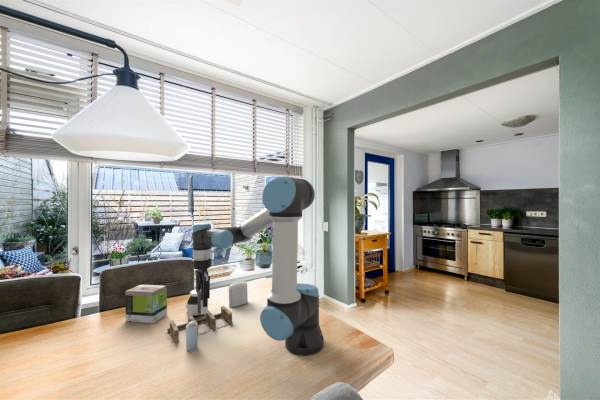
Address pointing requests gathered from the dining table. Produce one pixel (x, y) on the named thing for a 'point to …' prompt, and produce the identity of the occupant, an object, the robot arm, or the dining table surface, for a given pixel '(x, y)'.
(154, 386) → the dining table surface
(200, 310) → the charcoal plug
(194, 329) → the light blue bottle
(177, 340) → the comb rack
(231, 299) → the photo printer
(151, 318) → the tea box
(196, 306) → the spread jar
